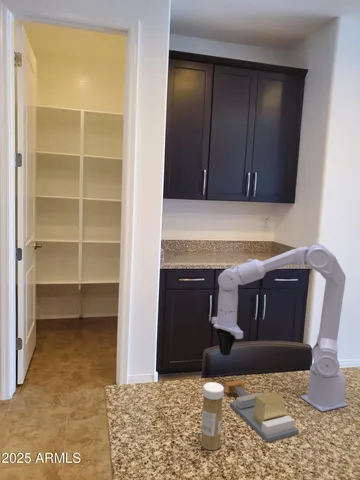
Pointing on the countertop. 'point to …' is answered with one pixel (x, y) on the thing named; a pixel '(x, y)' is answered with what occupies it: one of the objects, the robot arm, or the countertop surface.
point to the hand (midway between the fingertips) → (224, 354)
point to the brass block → (268, 407)
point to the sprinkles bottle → (212, 415)
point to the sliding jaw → (241, 394)
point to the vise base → (257, 427)
